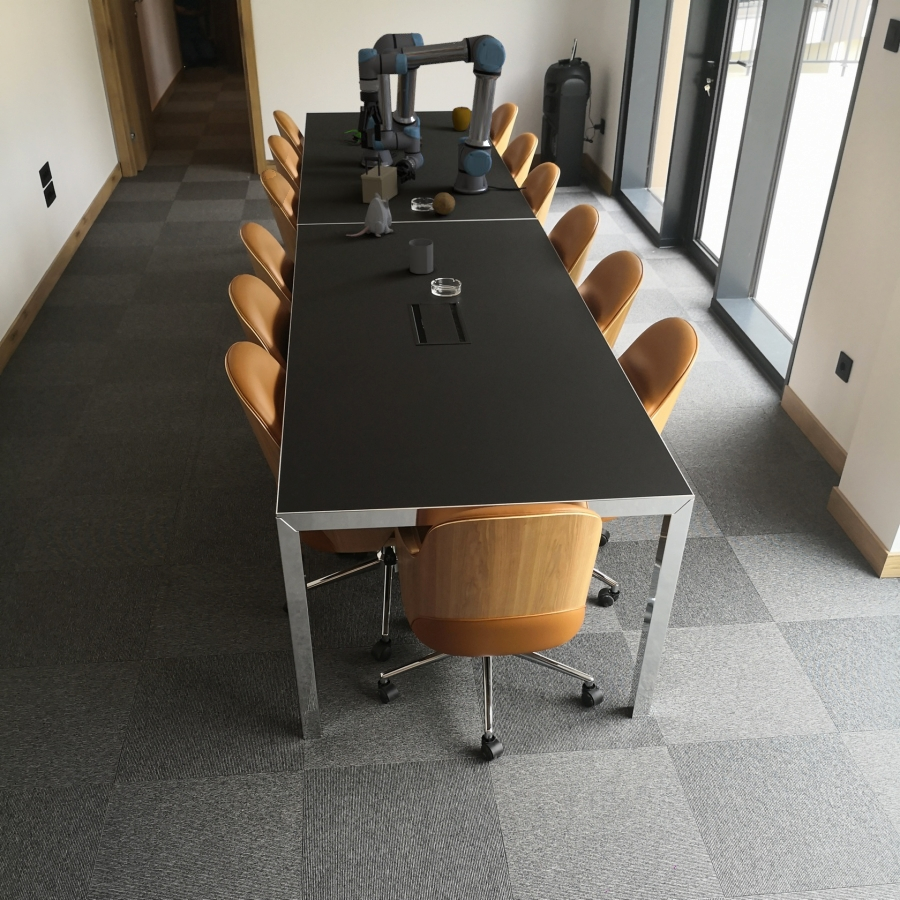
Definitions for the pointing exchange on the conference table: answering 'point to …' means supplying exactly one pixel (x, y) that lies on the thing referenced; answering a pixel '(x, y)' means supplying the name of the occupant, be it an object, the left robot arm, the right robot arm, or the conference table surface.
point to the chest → (380, 188)
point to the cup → (421, 256)
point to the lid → (377, 169)
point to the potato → (443, 203)
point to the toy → (377, 217)
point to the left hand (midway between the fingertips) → (387, 179)
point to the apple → (461, 118)
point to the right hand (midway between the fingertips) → (371, 144)
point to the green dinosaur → (355, 137)
